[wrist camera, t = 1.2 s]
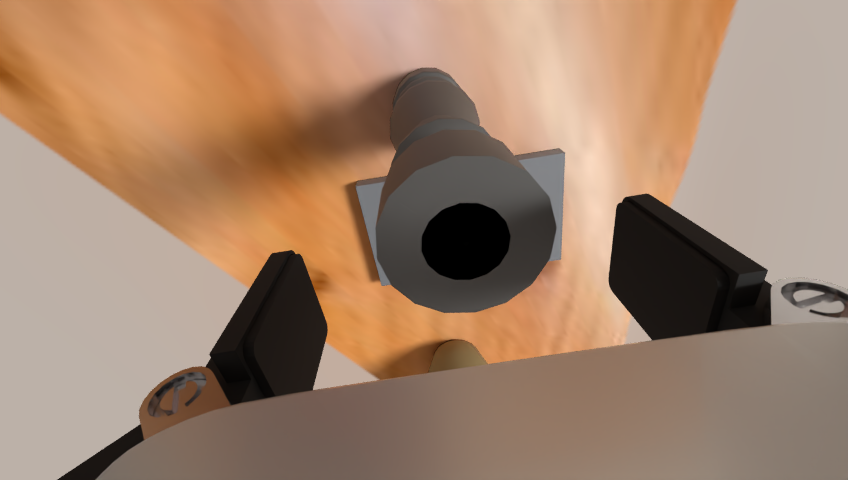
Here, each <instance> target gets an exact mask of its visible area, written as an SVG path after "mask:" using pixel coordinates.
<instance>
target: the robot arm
mask: <svg viewBox="0 0 848 480" xmlns="http://www.w3.org/2000/svg"><path fill="white" fill-rule="evenodd" d="M767 271H768V270H767V269H765V268H764V267H762V266H761V265H759V264H757V263H756V262H754V261H753V260H751V259H750V258H748V257H746V256H745V255H743V254H742V253H740V252H739V251H737V250H736V249H734V248H732V247H731V246H729V245H728V244H726V243H725V242H723V241H721V240H720V239H718V238H717V237H715V236H714V235H712V234H711V233H709V232H707V231H706V230H704V229H703V228H701V227H700V226H698V225H696V224H695V223H693V222H692V221H690V220H689V219H687V218H685V217H684V216H682V215H681V214H679V213H678V212H676V211H674V210H673V209H671V208H670V207H668V206H667V205H665V204H664V203H662V202H660V201H659V200H657V199H656V198H654V197H653V196H651V195H649V194H642V195H635V196H629V197H625V198H624V199H623V201H622V203H619V204H618V205H617V208H616V217H615V226H614V235H613V244H612V253H611V262H610V271H609V285H610V288H611V290H612V292H613V293H614V294H615V295H616V297H617V298H618V299H619V300H620V301H621V303H622V304H623V305H624V306H625V308H626V309H627V310H628V311H629V312H630V314H631V315H632V316H633V317H634V319H635V320H636V321H637V322H638V323H639V325H640V326H641V327H642V328H643V329H644V331H645V332H646V333H647V334H648V336H649V337H650V338H651V339H652V341H646V342H638V343H631V344H624V345H617V346H610V347H603V348H596V349H589V350H582V351H575V352H568V353H562V354H555V355H548V356H541V357H534V358H527V359H520V360H513V361H506V362H500V363H493V364H486V365H479V366H473V367H466V368H459V369H452V370H445V371H438V372H432V373H425V374H418V375H411V376H404V377H397V378H391V379H384V380H377V381H371V382H364V383H358V384H351V385H344V386H338V387H331V388H325V389H318V390H313V386H314V382H315V379H316V374H317V371H318V367H319V363H320V360H321V356H322V351H323V348H324V344H325V340H326V337H327V323H326V320H325V317H324V314H323V312H322V309H321V306H320V304H319V301H318V298H317V296H316V293H315V290H314V288H313V285H312V282H311V279H310V277H309V274H308V271H307V269H306V266H305V263H304V261H303V258H302V256H301V255H300V254H295V253H294V251H292V250H290V251H284V252H278V253H272V254H271V255H270V257H269V258H268V260H267V262H266V263H265V265H264V266H263V268H262V270H261V271H260V273H259V275H258V276H257V278H256V279H255V281H254V283H253V284H252V286H251V288H250V289H249V291H248V292H247V294H246V296H245V297H244V299H243V300H242V302H241V304H240V305H239V307H238V309H237V310H236V312H235V313H234V315H233V317H232V318H231V320H230V322H229V323H228V325H227V326H226V328H225V330H224V331H223V333H222V335H221V336H220V338H219V339H218V341H217V343H216V344H215V346H214V348H213V349H212V351H211V352H210V356H211V359H210V360H209V362H208V364H207V365H206V367H202V366H201V367H191V368H188V369H185V370H182V371H180V372H177V373H175V374H173V375H171V376H170V377H168V378H167V379H165V380H164V381H162V382H161V383H160V384H158V385H157V386H156V387H155V388H154V389H153V390H152V391H151V392H150V393H149V394H148V396H147V397H146V398H145V399H144V401H143V403H142V405H141V407H140V410H139V419H140V423H141V424H140V425H139V426H137V427H136V428H134V429H133V430H131V431H130V432H128V433H127V434H125V435H124V436H122V437H121V438H119V439H118V440H116V441H115V442H113V443H112V444H110V445H109V446H107V447H106V448H104V449H103V450H101V451H100V452H98V453H97V454H95V455H94V456H92V457H91V458H89V459H88V460H86V461H85V462H83V463H82V464H80V465H79V466H77V467H76V468H74V469H73V470H71V471H70V472H68V473H67V474H65V475H64V476H62V477H61V478H59V479H58V480H848V289H846V288H844V287H841V286H838V285H835V284H832V283H828V282H824V281H820V280H816V279H808V278H786V279H781V280H778V281H776V282H775V283H773V285H771V284H769V283H768V282H766V281H765V280H764V279H765V277H766V274H767Z"/></svg>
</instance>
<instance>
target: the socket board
mask: <svg viewBox="0 0 848 480" xmlns="http://www.w3.org/2000/svg"><path fill="white" fill-rule="evenodd" d="M515 157H516V158H517V160H518V161H519V162H520V163H521V164H522V165H523V167H524V168H525V169H526V170H527V171H528V172H529V174H530V175H531V176H532V177H533V178H534V179H535V181H536V182H537V183H538V184H539V185H540V186H541V188H542V189H543V190H544V191H545V192H546V193H547V195H548V196H549V197H550V201H551V205H552V209H553V213H554V218H555V222H556V226H557V230H556V234H555V239H554V243H553V248H552V252H551V257H550V259H549V261H554V260H560V259H561V245H562V219H563V193H564V166H565V152H563V151H562V150H561V149H553V150H546V151H540V152H534V153H528V154H522V155H515ZM386 178H387V176H385V177H379V178H373V179H367V180H360V181H357V184H356V190H357V194H358V198H359V202H360V205H361V209H362V213H363V217H364V221H365V224H366V228H367V232H368V236H369V240H370V243H371V247H372V251H373V255H374V259H375V262H376V266H377V270H378V274H379V278H380V281H381V285H382V286H385V285H391V284H390V282H389V280H388V278H387V276H386V275H385V273H384V271H383V269H382V267H381V265H380V264H379V262H378V260H377V249H376V230H375V228H376V222H377V215H378V209H379V203H380V197H381V191H382V188H383V185H384V183H385V180H386Z"/></svg>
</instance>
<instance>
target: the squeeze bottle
mask: <svg viewBox="0 0 848 480" xmlns="http://www.w3.org/2000/svg"><path fill="white" fill-rule="evenodd" d="M486 364H487V362H486V361H485V360H484V358H483V357H482V355H481V354H480V353H479V351H478V350H477V348H476V347H475V346H474V345H473V344H472V343H469V342H467V341H464V340H453V341H448V342H446V343H444V344H442V345H441V346H439V348H438V349H437V350H436V351H435V354H434V357H433V360H432V362H431V365H430V368H429V371H428V373H432V372H438V371H445V370H452V369H459V368H466V367H473V366H479V365H486Z"/></svg>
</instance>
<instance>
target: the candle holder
mask: <svg viewBox="0 0 848 480" xmlns="http://www.w3.org/2000/svg"><path fill="white" fill-rule="evenodd" d="M479 124H480V120H479V117H478V114H477V111H476V107H475V104H474V103H473V101H472V100H471V99H470V98H469V97H468V96H467V94H466V93H465V92H464V91H463V90H462V89H461V88H460V87H459V85H458V84H457V83H456V82H455V81H454V80H453V78H452V77H451V76H450V75H449V74H447V73H445V72H443V71H441V70H439V69H437V68H420V69H418V70H416V71H413V72H411V73H409V74H408V75H407V76H406V77H405V78H404V79H403V80H402V81H401V82H400V84H399V86H398V88H397V91H396V94H395V96H394V101H393V112H392V115H391V118H390V138H391V141H392V143H393V145H394V148H395V150H396V154H395V156H394V159H393V161H392V164H391V168H390V170H389V173H388V175H387V178H386V180H385V183H384V185H383V188H382V191H381V197H380V203H379V209H378V215H377V222H376V228H375V230H376V249H377V260H378V262H379V264H380V265H381V267H382V269H383V271H384V273H385V275H386V276H387V278H388V280H389V282H390V284H391V285H392V286H393V287H394V288H396V289H397V290H398V291H399V292H401V293H402V294H403V295H405V296H406V297H407V298H408V299H410V300H411V301H412V302H414V303H415V304H418V305H421V306H424V307H428V308H431V309H434V310H437V311H440V312H443V313H462V312H478V311H481V310H484V309H488V308H491V307H494V306H497V305H500V304H503V303H506V302H508V301H509V300H510V299H512V298H513V297H515V296H516V295H517V294H519V293H520V292H522V291H523V290H524V289H526V288H527V287H529V286H530V285H531V284H532V283H533V282H534V281H535V279H536V278H537V276H538V275H539V273H540V272H541V271H542V269H543V268H544V266H545V265H546V263H547V262H548V261H549V259H550V257H551V252H552V248H553V243H554V239H555V234H556V230H557V226H556V222H555V218H554V213H553V209H552V205H551V201H550V197H549V196H548V195H547V193H546V192H545V191H544V190H543V189H542V188H541V186H540V185H539V184H538V183H537V182H536V181H535V179H534V178H533V177H532V176H531V175H530V174H529V172H528V171H527V170H526V169H525V168H524V167H523V165H522V164H521V163H520V162H519V161H518V160H517V158H516V157H515V156H514V155H513V154H512V153H511V151H510V150H509V149H508V148H507V147H506V146H505V144H504V143H503V142H501V141H499V140H497V139H494V138H492V137H491V136H490V135H489V134H488V133H487V132H486V131H485V129H484V128H483V127H481V126H479Z"/></svg>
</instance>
